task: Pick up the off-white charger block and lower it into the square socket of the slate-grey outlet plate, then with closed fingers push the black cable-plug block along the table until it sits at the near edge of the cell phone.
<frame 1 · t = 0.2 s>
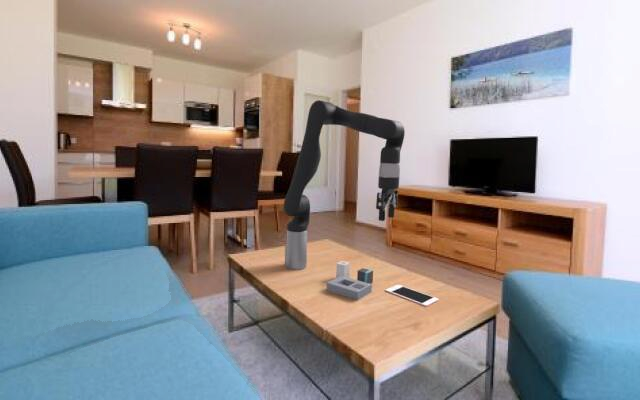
hand: (386, 218, 129), 28 cm above the table, fingers open, 8 cm apart
cable plug: (364, 282, 141), on the table
charger: (342, 279, 145), on the table
cell phone: (411, 297, 130), on the table
outlet: (349, 290, 132), on the table
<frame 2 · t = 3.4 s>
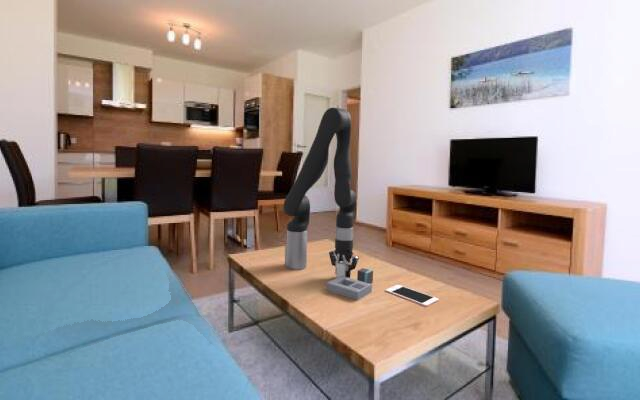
hand: (342, 277, 144), 1 cm above the table, fingers closed on charger, 4 cm apart
charger: (342, 279, 145), on the table, touching gripper
everything else where it was.
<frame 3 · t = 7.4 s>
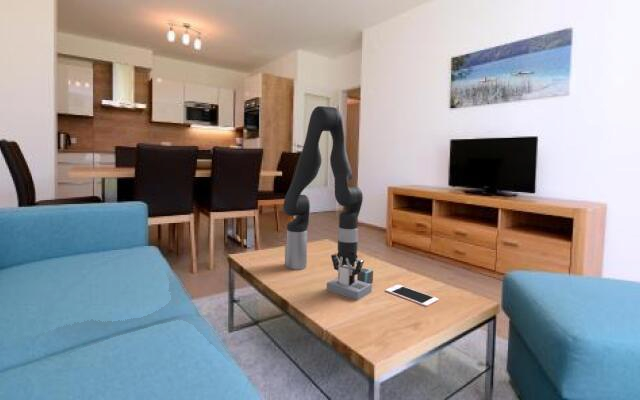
hand: (346, 282, 132), 3 cm above the table, fingers closed on charger, outlet, 4 cm apart
charger: (346, 284, 132), point 2 cm above the table, touching gripper
everything else where it was.
when the fingers open (3 cm above the table, at t = 7.5 s): charger drops 2 cm, resting in outlet.
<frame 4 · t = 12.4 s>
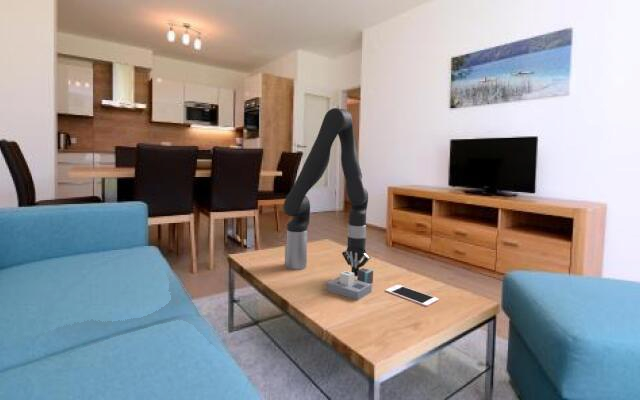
hand: (355, 275, 144), 2 cm above the table, fingers closed
cable plug: (364, 282, 141), on the table, touching gripper
charger: (346, 290, 133), resting in outlet
everything else where it was.
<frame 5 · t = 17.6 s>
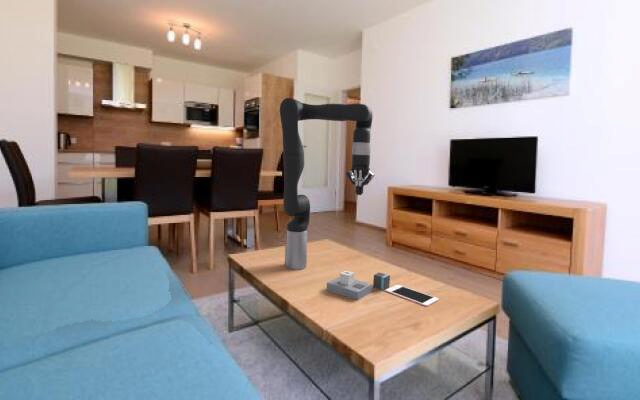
hand: (359, 194, 146), 35 cm above the table, fingers closed
cable plug: (381, 287, 137), on the table
everything else where it was.
at the end: charger 0.4 cm from the target spot on the outlet, point 0.0 cm above the outlet's base; charger tilted 0°; cable plug inside the target area (0.4 cm from its centre), on the table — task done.
